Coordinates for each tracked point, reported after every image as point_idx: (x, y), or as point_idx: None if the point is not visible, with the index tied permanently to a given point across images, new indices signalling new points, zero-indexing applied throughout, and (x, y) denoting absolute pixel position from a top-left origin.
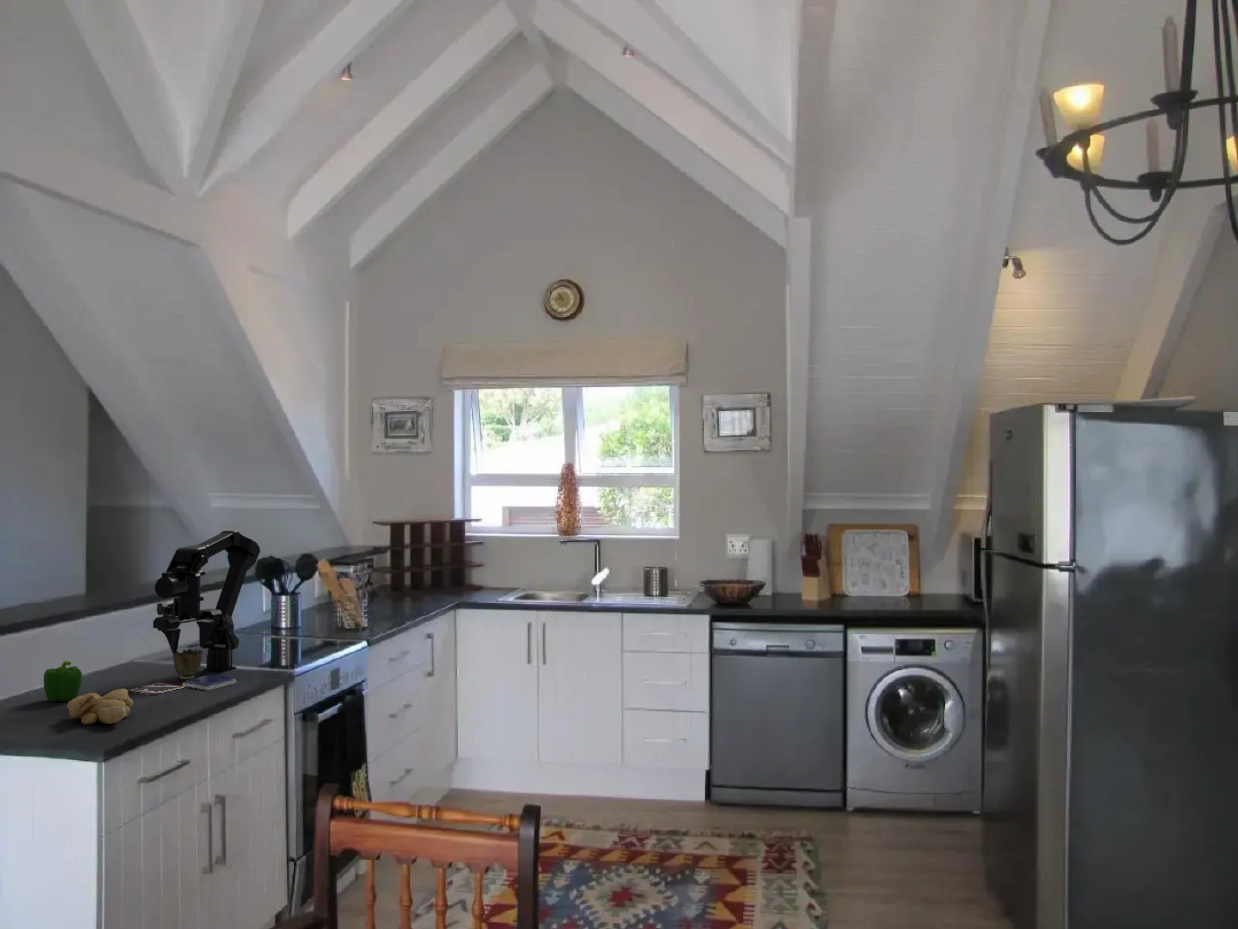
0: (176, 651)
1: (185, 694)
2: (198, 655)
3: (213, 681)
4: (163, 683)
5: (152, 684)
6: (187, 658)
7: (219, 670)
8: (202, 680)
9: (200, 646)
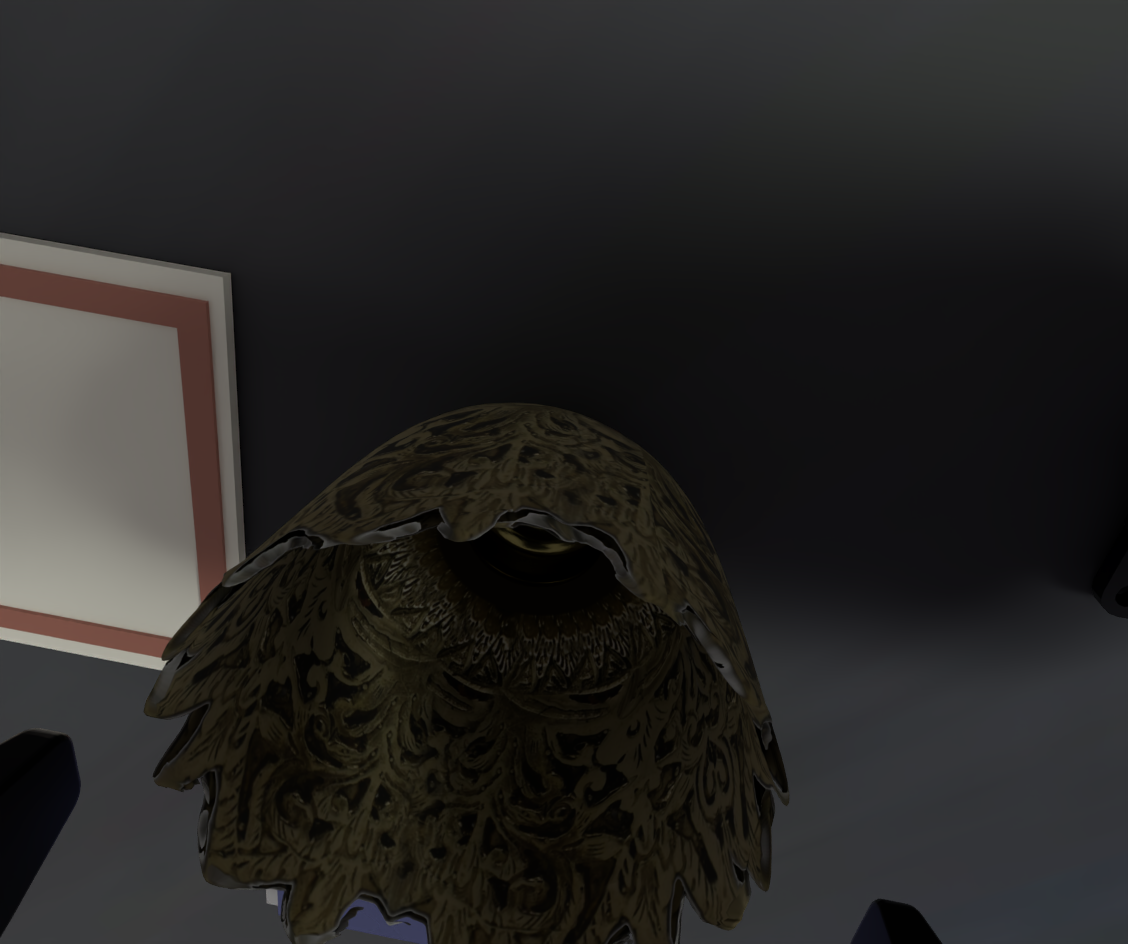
0: (51, 839)
1: (88, 790)
2: (470, 942)
3: (373, 916)
4: (202, 383)
5: (80, 288)
6: (295, 834)
7: (1115, 605)
8: None
9: (875, 924)
